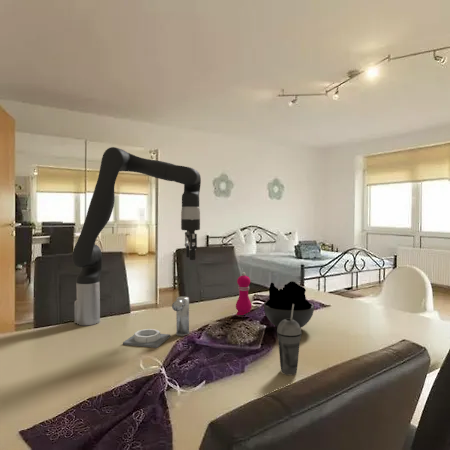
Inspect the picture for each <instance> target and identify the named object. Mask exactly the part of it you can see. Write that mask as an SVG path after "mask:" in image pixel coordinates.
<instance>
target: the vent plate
mask: <svg viewBox="0 0 450 450" xmlns="http://www.w3.org/2000/svg"><path fill="white" fill-rule="evenodd" d="M170 337H171V334H168V333H167V334H166V333H161V331H159V329H154V328H146V329H145V328H144V329H139V330H137V331H135V332H134V333H133V334H132V336H130V337H129V338H127V339H125V340H124V341H123V342H122V345H123V346H132V347H133V346H134V347H142V348H143V347H145V348H153V349H157V348H159V347H160V346H162V344H163V343H165V342H166V341H167V340H169V338H170Z"/></svg>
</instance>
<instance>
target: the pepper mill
mask: <svg viewBox="0 0 450 450" xmlns="http://www.w3.org/2000/svg"><path fill="white" fill-rule="evenodd" d="M236 280H237V281H236V282H237V285H238V286H237V287H238V291H239V292H238V293H239V295H238V298H237V300H236V303H235V308H236V316H237V315H244V314H246V313H248V312H251V310H252V307H253V306H252V302H251V299H250V297H249V291H250V284H251V278H250V277H249V276H247V274H246V272H245V271H243V272H242V273H241V275H240V276H239V277H238V278H237V279H236Z"/></svg>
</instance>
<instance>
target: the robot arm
mask: <svg viewBox="0 0 450 450" xmlns="http://www.w3.org/2000/svg"><path fill="white" fill-rule="evenodd" d="M120 172H130V173H133V172H134V173H138V174H139V173H140V174H143V175H146V176H149V177H152V178H156V179H158V180H163V181H168V182H175V183H179V184H182V185H183V193H182V194H181V210H180V211H181V212H180V229H181V230H182V231H185V232H184V246H185V256H186V258H189V260H190V261H195V260H196V250H197V249H198V234H197V233H196V231H199V230H200V229H201V209H200V191H201V182H202V181H201V174H200V172H199V171H198V170H197V169H195V168H193V167H189V166H184V165H177V164H174V163H171V162H166V161H163V160H162V161H161V160H155V159H149V158H143V157H140V156H137V155H134V154H132V153H130V152H127V151H126V150H125V149H122V148H119V147H114V146H112V147H108V148H107V149H106V150H105V151H104V152H103V154H102V157H101V162H100V168H99V172H98V177H97V180H96V184H95V186H94V191H93V193H92V197H91V199H90V203H89V205H88V210H87V213H86V215H85V216H86V217H85V219H84V222H83V225H82V228H81V231H80V234H79V236H78V239H77V241H76V243H75V244H74V245H75V246H73V247H74V248H73V250H72V254H71V260H72V263H73V265H75V267H77V268H81V271H80V273H78V275H77V276H76V280H75V281H76V285H75V286H76V300H74V324H75V323H77V325H78V324H79V325H78V326H93V325H96V323H97V324H99V323H100V322H101V299H100V298H101V293H100V291H101V288H100V279H101V276H102V271H103V270H102V268H103V253H102V252H103V251H102V250H101V248H100V246H99V245H97V244H96V241H97V238H98V237H99V235H100V233H101V232H102V231H103V229H104V228H105V227H106V225H107V224H108V223H109V222H110V218H111V216H112V212H113V209H114V207H115V201H116V200H115V198H116V197H115V187H116V186H115V185H116V181H117V177H118V175H119V173H120Z"/></svg>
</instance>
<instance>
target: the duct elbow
mask: <svg viewBox="0 0 450 450" xmlns="http://www.w3.org/2000/svg"><path fill="white" fill-rule="evenodd" d="M171 307H172V310H173V311H174V312H176V333H175V335H176V336H178V337H185V336H184V335H187V334H189V335H190V297H189V296H177V297H176V300H175V301H174V302H172V305H171ZM187 336H188V335H187Z"/></svg>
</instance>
